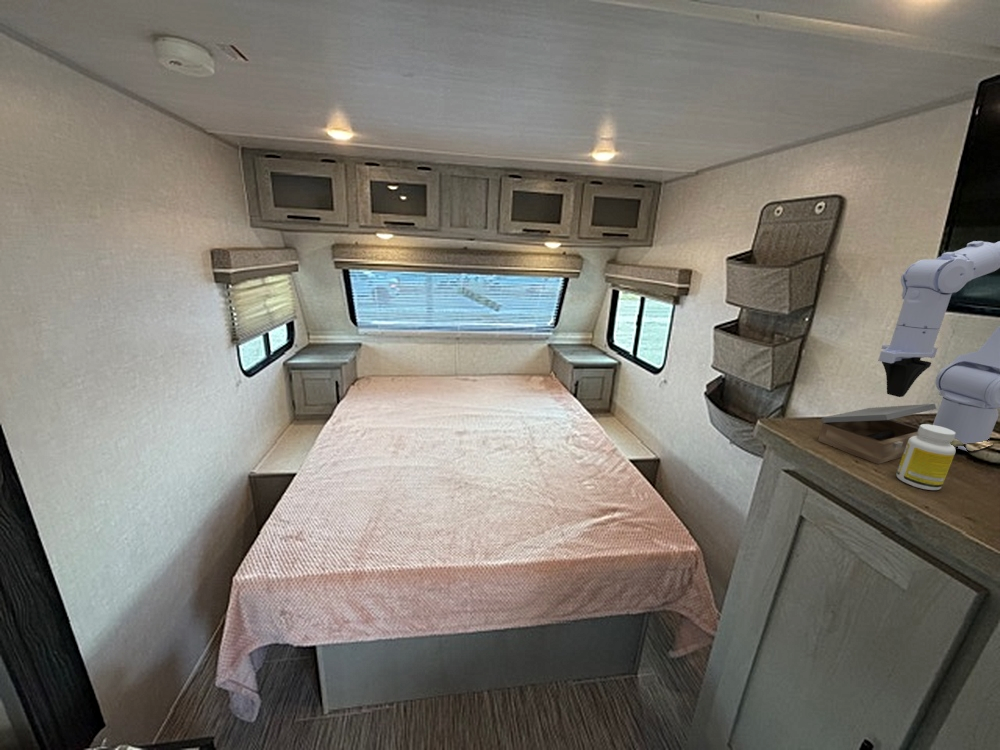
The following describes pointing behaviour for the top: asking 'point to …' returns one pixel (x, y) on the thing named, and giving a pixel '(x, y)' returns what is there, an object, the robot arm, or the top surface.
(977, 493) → the top surface
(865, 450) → the box
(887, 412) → the lid
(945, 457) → the supplement bottle
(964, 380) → the robot arm
